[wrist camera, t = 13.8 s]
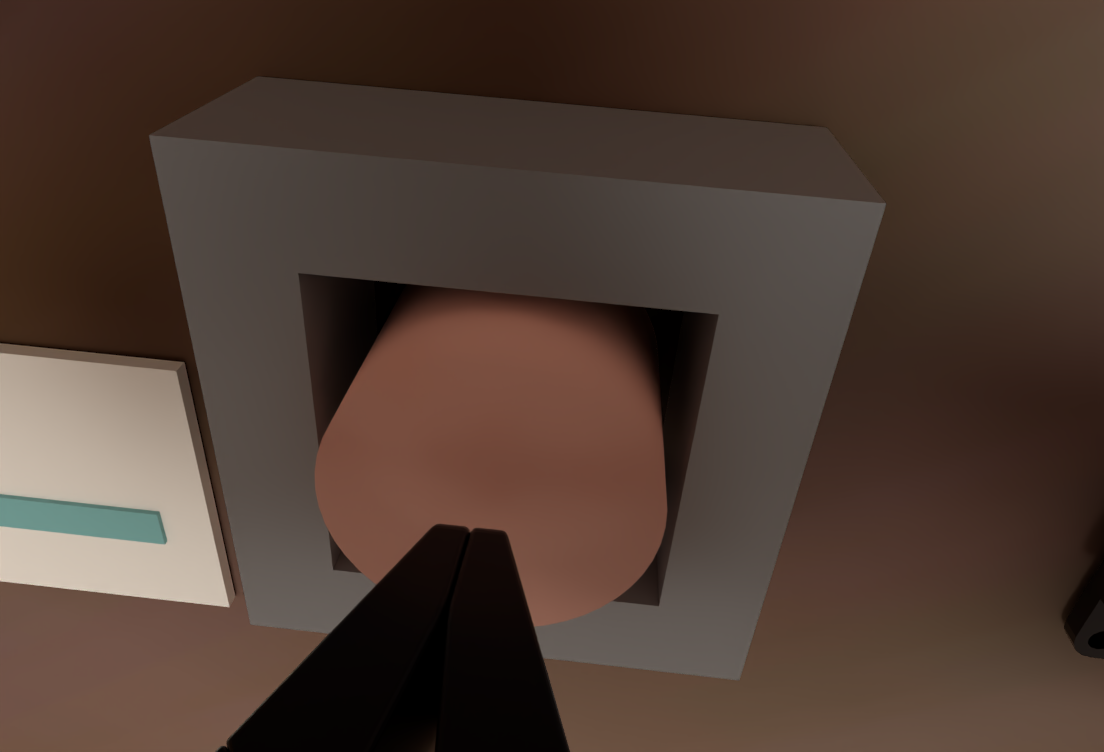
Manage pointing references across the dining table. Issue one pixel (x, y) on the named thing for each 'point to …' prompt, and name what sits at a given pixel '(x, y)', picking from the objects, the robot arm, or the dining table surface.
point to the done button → (505, 441)
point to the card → (106, 478)
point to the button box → (523, 269)
